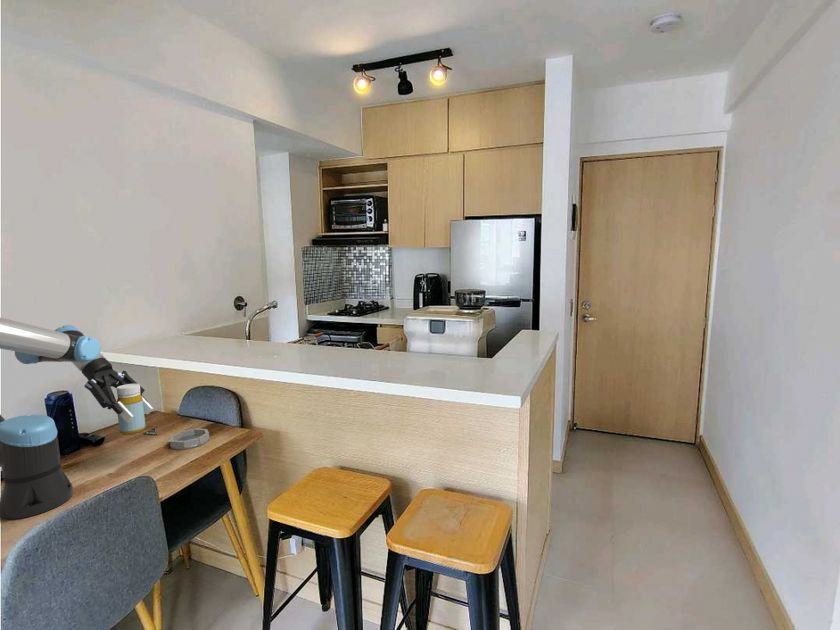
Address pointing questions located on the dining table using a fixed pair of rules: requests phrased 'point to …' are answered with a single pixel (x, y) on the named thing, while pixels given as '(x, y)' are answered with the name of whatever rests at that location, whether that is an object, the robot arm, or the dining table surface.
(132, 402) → the bottle
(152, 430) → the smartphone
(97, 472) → the dining table surface
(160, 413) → the dining table surface
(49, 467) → the robot arm
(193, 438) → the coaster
